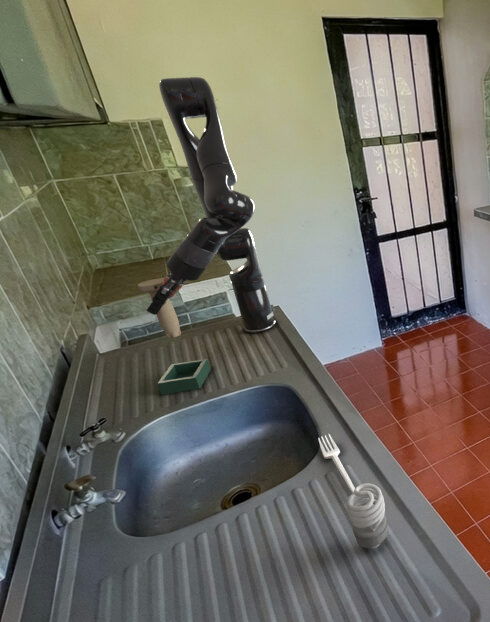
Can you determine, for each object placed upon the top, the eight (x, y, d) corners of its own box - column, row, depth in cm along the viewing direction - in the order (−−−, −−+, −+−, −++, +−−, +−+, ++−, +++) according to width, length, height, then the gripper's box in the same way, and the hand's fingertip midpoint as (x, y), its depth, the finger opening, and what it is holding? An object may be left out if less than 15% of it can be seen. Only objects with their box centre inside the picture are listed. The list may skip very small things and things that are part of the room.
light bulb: (398, 545, 75) (388, 491, 70) (368, 567, 71) (355, 512, 66) (379, 524, 79) (369, 472, 73) (350, 545, 75) (337, 492, 70)
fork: (350, 504, 83) (348, 497, 82) (317, 445, 98) (315, 438, 97) (367, 496, 84) (365, 488, 84) (332, 439, 99) (331, 432, 98)
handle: (190, 335, 117) (170, 281, 111) (160, 343, 114) (138, 288, 108) (187, 328, 121) (168, 276, 115) (158, 336, 117) (137, 282, 111)
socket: (175, 374, 126) (171, 364, 125) (211, 369, 128) (207, 358, 127) (161, 394, 117) (156, 383, 116) (199, 388, 119) (195, 377, 118)
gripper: (186, 240, 116) (150, 290, 118) (165, 256, 103) (125, 312, 106) (215, 257, 119) (179, 306, 122) (198, 275, 107) (159, 329, 109)
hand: (154, 309), depth 114 cm, fingers closed on handle, 3 cm apart
